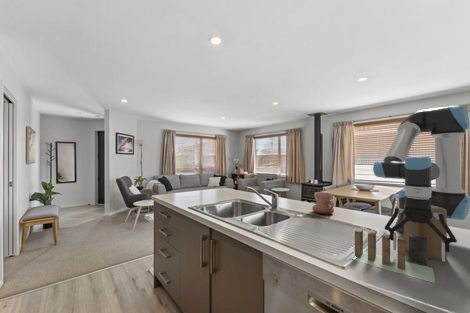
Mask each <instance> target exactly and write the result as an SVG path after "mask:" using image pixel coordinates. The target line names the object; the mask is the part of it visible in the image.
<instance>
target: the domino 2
mask: <svg viewBox="0 0 470 313" xmlns="http://www.w3.org/2000/svg"><path fill="white" fill-rule="evenodd" d="M381 245H382V246H381V255H382V264H384V265H387V266H389V263H390V258H391V240H390V233H385V232H384V233H383V234H382V236H381Z"/></svg>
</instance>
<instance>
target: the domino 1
mask: <svg viewBox="0 0 470 313" xmlns="http://www.w3.org/2000/svg"><path fill="white" fill-rule="evenodd" d="M367 252H368V260H369V261H373V262H374V261H375V258H376V254H377V231H373V230H369V231H368V233H367Z"/></svg>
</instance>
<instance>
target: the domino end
mask: <svg viewBox="0 0 470 313" xmlns="http://www.w3.org/2000/svg"><path fill="white" fill-rule="evenodd" d="M363 240H364V229H363V228H359V227H358V228H356V229H355V230H354V249H355V256H356V257H358V258H361V256H362V254H363V251H364V241H363Z"/></svg>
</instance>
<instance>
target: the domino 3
mask: <svg viewBox="0 0 470 313" xmlns="http://www.w3.org/2000/svg"><path fill="white" fill-rule="evenodd" d="M396 250H397V259H398V269H402V270H405V261H406V249H405V237H404V236H401V235H400V236H399V235H398V237H397V239H396Z"/></svg>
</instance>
